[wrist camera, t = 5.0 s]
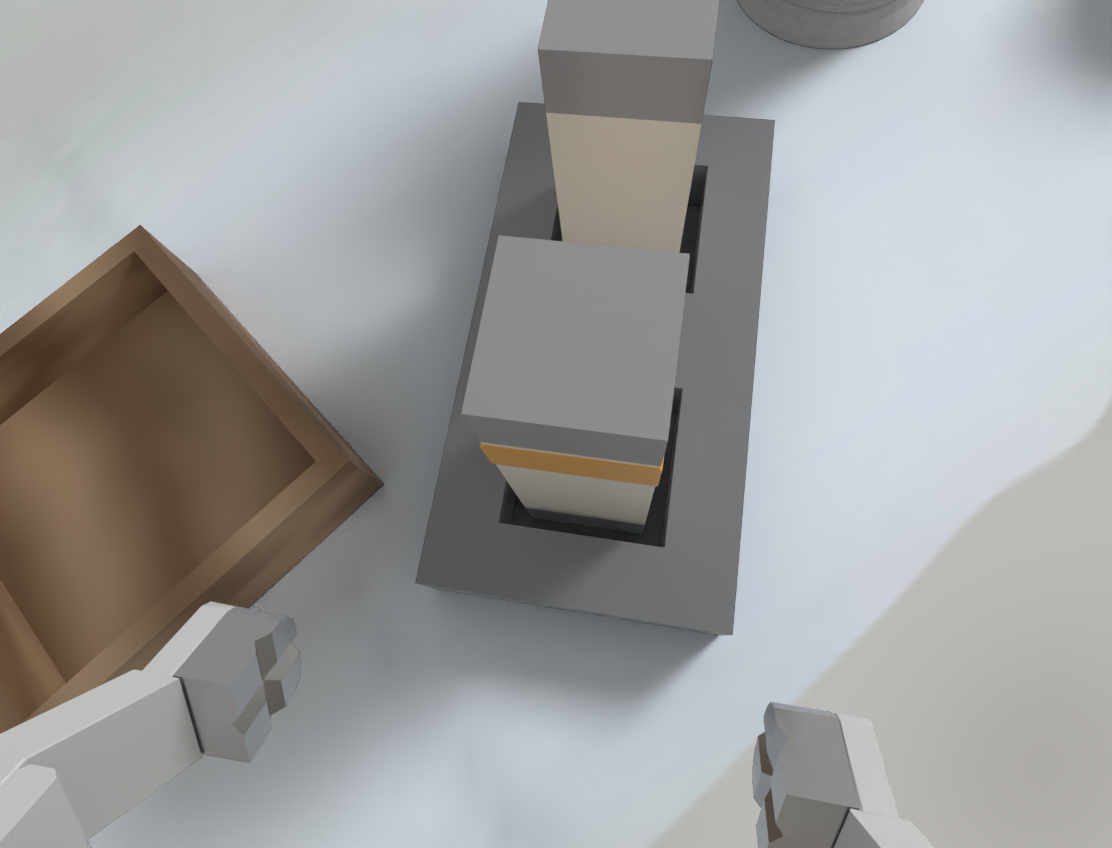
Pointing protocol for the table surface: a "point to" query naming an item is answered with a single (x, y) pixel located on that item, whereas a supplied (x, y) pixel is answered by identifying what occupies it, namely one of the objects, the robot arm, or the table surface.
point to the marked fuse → (578, 376)
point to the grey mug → (830, 20)
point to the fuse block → (699, 402)
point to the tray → (146, 473)
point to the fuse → (625, 114)
